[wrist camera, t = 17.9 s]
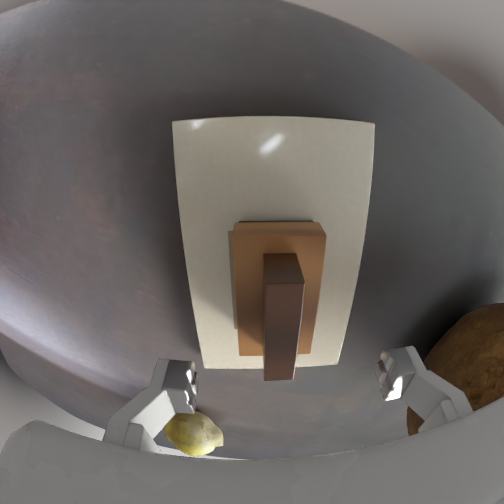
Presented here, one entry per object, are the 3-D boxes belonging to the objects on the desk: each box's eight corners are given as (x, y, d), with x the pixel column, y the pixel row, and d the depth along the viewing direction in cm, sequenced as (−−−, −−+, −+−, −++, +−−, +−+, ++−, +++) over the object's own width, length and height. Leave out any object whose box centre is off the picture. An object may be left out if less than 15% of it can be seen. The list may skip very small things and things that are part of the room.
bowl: (434, 398, 31) (465, 477, 18) (354, 374, 27) (388, 500, 13) (522, 305, 24) (577, 376, 10) (478, 236, 19) (585, 338, 6)
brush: (234, 217, 17) (227, 264, 12) (316, 217, 17) (342, 262, 12) (240, 330, 21) (237, 390, 16) (305, 328, 21) (317, 387, 16)
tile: (177, 120, 16) (171, 121, 14) (366, 122, 16) (376, 123, 14) (206, 356, 25) (204, 369, 23) (334, 352, 25) (337, 365, 23)
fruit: (141, 401, 29) (215, 408, 27) (166, 413, 33) (233, 419, 31) (133, 442, 25) (209, 457, 23) (160, 450, 29) (229, 461, 27)
